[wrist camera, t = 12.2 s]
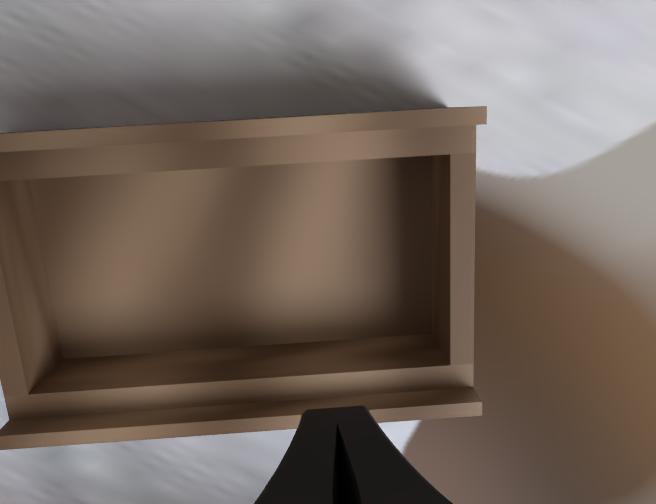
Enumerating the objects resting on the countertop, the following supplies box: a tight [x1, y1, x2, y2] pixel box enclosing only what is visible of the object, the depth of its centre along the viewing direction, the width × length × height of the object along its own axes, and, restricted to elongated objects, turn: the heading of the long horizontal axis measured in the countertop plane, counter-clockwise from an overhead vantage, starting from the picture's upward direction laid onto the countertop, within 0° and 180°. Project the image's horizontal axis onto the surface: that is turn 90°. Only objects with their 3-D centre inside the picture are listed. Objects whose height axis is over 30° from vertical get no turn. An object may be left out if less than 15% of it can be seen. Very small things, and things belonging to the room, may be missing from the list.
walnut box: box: [0, 106, 487, 450], centre depth 19 cm, size 16×10×4 cm, turn 93°
